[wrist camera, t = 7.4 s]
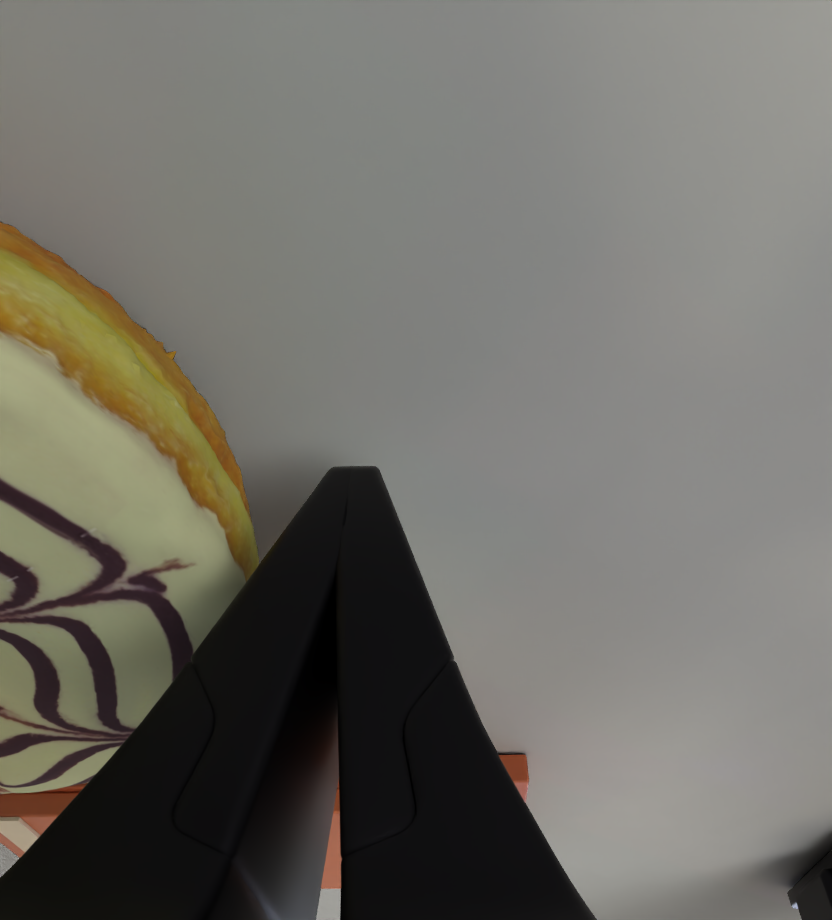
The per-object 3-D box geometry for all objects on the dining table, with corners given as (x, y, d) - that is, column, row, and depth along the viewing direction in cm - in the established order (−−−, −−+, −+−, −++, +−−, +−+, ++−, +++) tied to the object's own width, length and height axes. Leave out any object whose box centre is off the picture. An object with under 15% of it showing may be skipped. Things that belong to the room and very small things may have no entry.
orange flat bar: (526, 753, 18) (532, 812, 17) (513, 842, 22) (518, 893, 21) (-21, 761, 18) (-46, 818, 17) (73, 847, 23) (57, 896, 22)
